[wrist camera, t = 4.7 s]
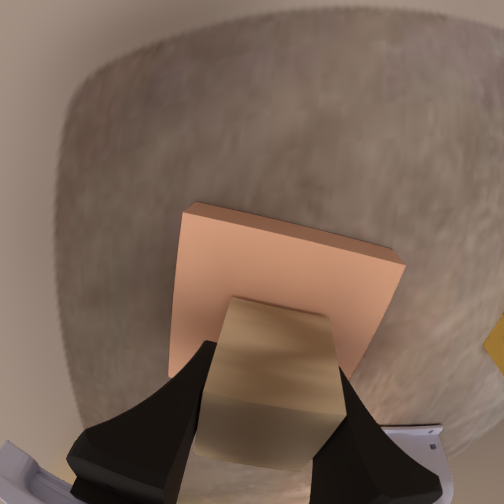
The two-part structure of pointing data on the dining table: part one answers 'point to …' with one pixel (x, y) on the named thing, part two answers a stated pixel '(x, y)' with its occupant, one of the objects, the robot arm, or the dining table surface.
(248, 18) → the dining table surface
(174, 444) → the robot arm
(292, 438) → the beech block
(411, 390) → the dining table surface
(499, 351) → the mustard block
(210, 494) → the dining table surface
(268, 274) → the riser
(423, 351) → the dining table surface
